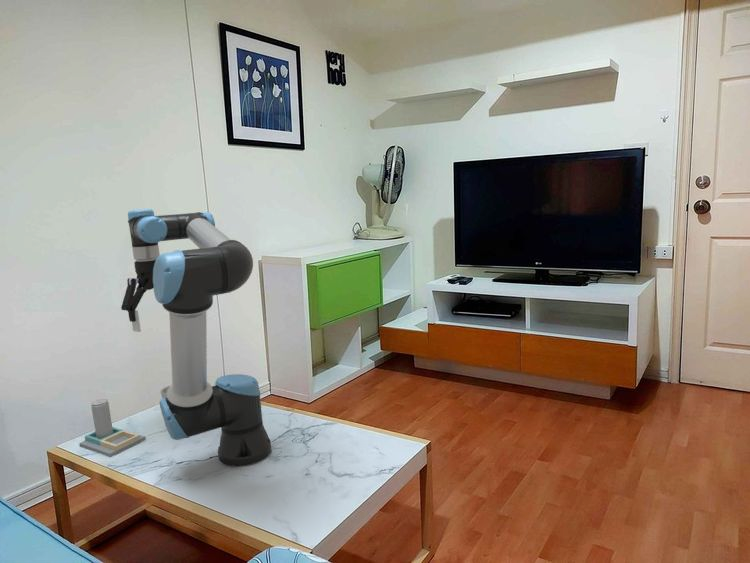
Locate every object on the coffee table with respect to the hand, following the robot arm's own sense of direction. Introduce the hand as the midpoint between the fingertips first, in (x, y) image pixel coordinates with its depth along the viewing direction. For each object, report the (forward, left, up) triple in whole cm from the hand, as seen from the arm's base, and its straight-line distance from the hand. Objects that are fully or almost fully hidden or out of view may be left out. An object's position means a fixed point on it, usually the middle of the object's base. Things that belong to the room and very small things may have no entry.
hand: (156, 325), depth 171 cm
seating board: (+8, +15, -35) cm, 39 cm away
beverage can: (+12, +15, -34) cm, 39 cm away
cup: (+1, -4, -35) cm, 35 cm away
